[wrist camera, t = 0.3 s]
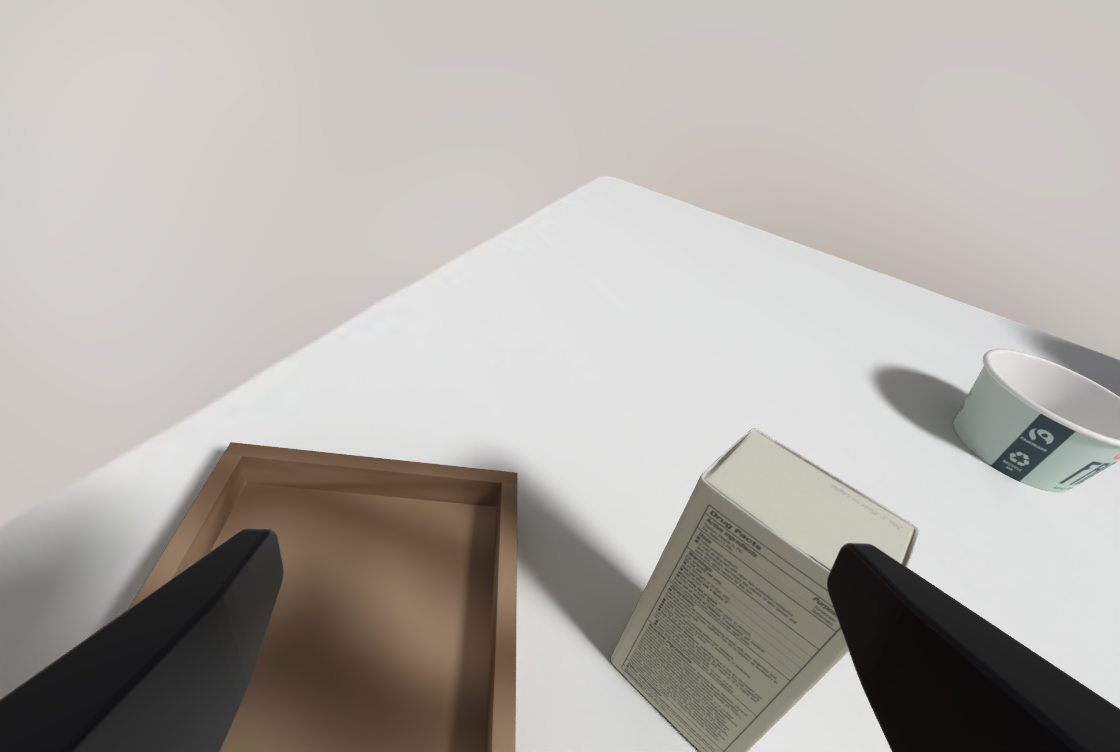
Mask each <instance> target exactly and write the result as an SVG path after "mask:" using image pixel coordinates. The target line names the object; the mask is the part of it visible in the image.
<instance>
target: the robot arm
mask: <svg viewBox="0 0 1120 752" xmlns="http://www.w3.org/2000/svg"><path fill="white" fill-rule="evenodd" d="M283 573H284V569H283V563H282V558H281V553H280V548H279V543H278V538H277V534H276V532H275V531H274V530H273V529H270V528H245V529H243V530H241V531H239V532H238V533H236V534H235V535H233V536H232V537H231V538H229V539H228V540H226V541H225V542H223V543H222V544H221V545H219V546H218V547H216V548H215V549H213V550H212V551H211V552H209V553H208V554H206V555H205V556H204V557H202V558H201V559H199V560H198V561H196V562H195V563H194V564H192V565H191V566H189V567H188V568H187V569H185V570H184V571H182V572H181V573H179V574H178V575H177V576H175V577H174V578H172V579H171V580H169V581H168V582H167V583H165V584H164V585H162V586H161V587H160V588H158V589H157V590H155V591H154V592H152V593H151V594H150V595H148V596H147V597H145V598H144V599H143V600H141V601H140V602H138V603H137V604H135V605H134V606H133V607H131V608H130V609H128V610H127V611H125V612H124V613H123V614H121V615H120V616H118V617H117V618H116V619H114V620H113V621H111V622H110V623H108V624H107V625H106V626H104V627H103V628H101V629H100V630H98V631H97V632H96V633H94V634H93V635H91V636H90V637H89V638H87V639H86V640H84V641H83V642H81V643H80V644H79V645H77V646H76V647H74V648H73V649H72V650H70V651H69V652H67V653H66V654H64V655H63V656H62V657H60V658H59V659H57V660H56V661H54V662H53V663H52V664H50V665H49V666H47V667H46V668H45V669H43V670H42V671H40V672H39V673H37V674H36V675H35V676H33V677H32V678H30V679H29V680H28V681H26V682H25V683H23V684H22V685H20V686H19V687H18V688H16V689H15V690H13V691H12V692H10V693H9V694H8V695H6V696H5V697H3V698H2V699H1V700H0V752H220V749H221V747H222V745H223V743H224V740H225V738H226V736H227V734H228V731H229V729H230V727H231V725H232V722H233V720H234V718H235V716H236V713H237V711H238V709H239V707H240V704H241V702H242V700H243V697H244V695H245V692H246V690H247V688H248V685H249V682H250V679H251V676H252V674H253V671H254V668H255V665H256V662H257V659H258V655H259V652H260V649H261V646H262V643H263V640H264V637H265V634H266V631H267V628H268V625H269V622H270V619H271V615H272V612H273V609H274V606H275V603H276V600H277V597H278V594H279V591H280V588H281V584H282V580H283ZM827 589H828V593H829V596H830V599H831V602H832V605H833V608H834V610H835V613H836V616H837V619H838V622H839V624H840V627H841V630H842V633H843V636H844V638H845V641H846V644H847V647H848V649H849V652H850V655H851V658H852V661H853V663H854V666H855V669H856V672H857V674H858V677H859V679H860V682H861V684H862V687H863V689H864V691H865V694H866V696H867V698H868V701H869V703H870V705H871V707H872V709H873V711H874V714H875V716H876V718H877V720H878V722H879V724H880V726H881V729H882V731H883V733H884V735H885V737H886V739H887V741H888V744H889V746H890V748H891V750H892V752H1120V709H1119V708H1117V707H1116V706H1114V705H1113V704H1111V703H1110V702H1108V701H1107V700H1105V699H1104V698H1102V697H1101V696H1099V695H1098V694H1096V693H1095V692H1093V691H1092V690H1090V689H1089V688H1087V687H1086V686H1084V685H1083V684H1081V683H1080V682H1078V681H1077V680H1075V679H1074V678H1072V677H1071V676H1069V675H1068V674H1066V673H1065V672H1063V671H1062V670H1060V669H1059V668H1057V667H1056V666H1054V665H1053V664H1051V663H1050V662H1048V661H1047V660H1045V659H1044V658H1042V657H1041V656H1039V655H1038V654H1036V653H1035V652H1033V651H1032V650H1030V649H1029V648H1027V647H1026V646H1024V645H1023V644H1021V643H1020V642H1018V641H1017V640H1015V639H1014V638H1012V637H1011V636H1009V635H1007V634H1006V633H1004V632H1003V631H1001V630H1000V629H998V628H997V627H995V626H994V625H992V624H991V623H989V622H988V621H986V620H985V619H983V618H982V617H980V616H979V615H977V614H976V613H974V612H973V611H971V610H970V609H968V608H967V607H965V606H964V605H962V604H961V603H959V602H958V601H956V600H955V599H953V598H952V597H950V596H949V595H947V594H946V593H944V592H943V591H941V590H940V589H938V588H937V587H935V586H934V585H932V584H931V583H929V582H928V581H926V580H925V579H923V578H922V577H920V576H919V575H917V574H916V573H914V572H913V571H911V570H910V569H908V568H907V567H905V566H904V565H902V564H901V563H899V562H898V561H896V560H895V559H893V558H892V557H890V556H889V555H887V554H886V553H884V552H883V551H881V550H880V549H878V548H877V547H875V546H873V545H871V544H867V543H846V544H844V545H843V546H842V547H841V549H840V551H839V553H838V555H837V557H836V560H835V562H834V564H833V566H832V569H831V571H830V573H829V575H828V579H827Z"/></svg>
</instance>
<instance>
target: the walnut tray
mask: <svg viewBox="0 0 1120 752" xmlns="http://www.w3.org/2000/svg"><path fill="white" fill-rule="evenodd" d="M245 528H270V529H273V530H274V531H275V532H276V534H277V538H278V543H279V548H280V553H281V558H282V563H283V569H284V573H283V580H282V584H281V588H280V591H279V594H278V597H277V600H276V603H275V606H274V609H273V612H272V615H271V619H270V622H269V625H268V628H267V631H266V634H265V637H264V640H263V643H262V646H261V649H260V652H259V655H258V659H257V662H256V665H255V668H254V671H253V674H252V676H251V679H250V682H249V685H248V688H247V690H246V692H245V695H244V697H243V700H242V702H241V704H240V707H239V709H238V711H237V713H236V716H235V718H234V720H233V722H232V725H231V727H230V729H229V731H228V734H227V736H226V738H225V740H224V743H223V745H222V747H221V749H220V752H515V716H516V588H517V473H513V472H504V471H495V470H485V469H476V468H467V467H457V466H448V465H438V464H429V463H420V462H410V461H401V460H391V459H382V458H373V457H363V456H354V455H344V454H335V453H326V452H316V451H307V450H298V449H288V448H279V447H269V446H260V445H251V444H241V443H232V442H231V443H230V444H229V446H228V448H227V449H226V451H225V453H224V454H223V456H222V458H221V459H220V461H219V462H218V464H217V466H216V467H215V469H214V471H213V472H212V474H211V475H210V477H209V479H208V480H207V482H206V484H205V485H204V487H203V488H202V490H201V492H200V493H199V495H198V497H197V498H196V500H195V502H194V503H193V505H192V506H191V508H190V510H189V511H188V513H187V515H186V516H185V518H184V519H183V521H182V523H181V524H180V526H179V528H178V529H177V531H176V532H175V534H174V536H173V537H172V539H171V541H170V542H169V544H168V546H167V547H166V549H165V550H164V552H163V554H162V555H161V557H160V559H159V560H158V562H157V563H156V565H155V567H154V568H153V570H152V572H151V573H150V575H149V576H148V578H147V580H146V581H145V583H144V585H143V586H142V588H141V590H140V591H139V593H138V594H137V596H136V598H135V599H134V601H133V603H132V604H131V606H130V607H129V609H130V608H131V607H133V606H134V605H135V604H137V603H138V602H140V601H141V600H143V599H144V598H145V597H147V596H148V595H150V594H151V593H152V592H154V591H155V590H157V589H158V588H160V587H161V586H162V585H164V584H165V583H167V582H168V581H169V580H171V579H172V578H174V577H175V576H177V575H178V574H179V573H181V572H182V571H184V570H185V569H187V568H188V567H189V566H191V565H192V564H194V563H195V562H196V561H198V560H199V559H201V558H202V557H204V556H205V555H206V554H208V553H209V552H211V551H212V550H213V549H215V548H216V547H218V546H219V545H221V544H222V543H223V542H225V541H226V540H228V539H229V538H231V537H232V536H233V535H235V534H236V533H238V532H239V531H241V530H243V529H245Z"/></svg>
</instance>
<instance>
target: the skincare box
mask: <svg viewBox="0 0 1120 752" xmlns="http://www.w3.org/2000/svg"><path fill="white" fill-rule="evenodd" d="M917 536H918V528H917V527H916V526H914V525H913V524H911V523H910V522H908V521H906V520H904V519H903V518H901V517H900V516H898V515H897V514H895V513H894V512H892V511H890V510H889V509H887V508H886V507H884V506H883V505H881V504H879V503H878V502H876V501H874V500H873V499H871V498H870V497H868V496H866V495H865V494H863V493H862V492H860V491H858V490H857V489H855V488H853V487H852V486H850V485H849V484H847V483H845V482H844V481H842V480H840V479H839V478H837V477H836V476H834V475H832V474H830V473H829V472H827V471H825V470H824V469H823V468H821V467H820V466H818V465H815V464H814V463H812V462H811V461H809V460H808V459H806V458H804V457H803V456H801V455H800V454H798V453H796V452H795V451H793V450H791V449H789V448H788V447H786V446H784V445H783V444H781V443H780V442H778V441H776V440H775V439H773V438H772V437H770V436H768V435H766V434H765V433H763V432H762V431H760V430H758V429H756V428H753V429H751V430H750V431H749V432H748V433H747V434H745V435H744V436H743V437H742V438H741V439H740V440H738V441H737V442H736V443H735V444H734V445H733V446H732V447H731V448H729V449H728V450H727V451H726V452H725V453H724V454H723V455H722V456H720V457H719V458H718V459H717V460H716V461H715V462H714V463H713V464H712V465H711V466H710V467H709V468H708V469H707V470H706V471H705V472H704V473H703V474H702V475H701V476H700V478H699V480H698V482H697V484H696V487H695V489H694V491H693V493H692V495H691V497H690V499H689V501H688V503H687V505H686V507H685V509H684V511H683V513H682V515H681V517H680V519H679V521H678V523H677V525H676V527H675V529H674V531H673V533H672V535H671V537H670V539H669V541H668V543H667V545H666V547H665V549H664V551H663V553H662V555H661V557H660V559H659V561H658V564H657V566H656V568H655V570H654V572H653V574H652V576H651V577H650V579H649V581H648V583H647V585H646V588H645V590H644V592H643V594H642V596H641V598H640V600H639V602H638V604H637V606H636V608H635V610H634V612H633V614H632V616H631V618H630V620H629V622H628V624H627V626H626V628H625V630H624V632H623V634H622V636H621V638H620V640H619V642H618V644H617V646H616V648H615V650H614V652H613V654H612V656H611V662H612V664H613V665H614V666H615V667H616V668H617V669H618V670H619V671H620V672H621V673H622V674H623V675H624V676H625V677H626V678H627V679H628V681H630V682H631V684H632V685H633V686H634V687H635V688H636V689H637V690H638V691H639V692H640V693H641V694H642V695H643V696H644V697H645V698H646V699H647V700H648V701H649V702H650V703H651V704H652V705H654V706H655V707H656V708H657V709H658V710H659V711H660V712H661V713H662V714H663V715H664V716H665V717H666V718H667V719H668V720H669V721H670V722H671V723H672V724H673V725H674V726H675V727H676V728H677V729H678V730H679V731H680V732H681V733H682V734H683V735H684V736H685V737H686V738H687V739H688V740H689V741H690V742H691V743H692V744H693V745H694V746H695V747H696V748H697V749H698V750H699V751H701V752H748V751H749V750H750V748H751V747H752V746H753V745H754V744H755V743H756V742H757V741H759V740H760V739H761V738H762V737H763V735H764V734H765V733H766V732H768V731H769V730H770V729H771V728H772V727H773V726H774V725H775V724H776V723H777V722H778V721H779V720H780V719H781V718H782V717H783V716H784V715H785V714H786V713H787V712H788V711H789V710H790V709H791V708H792V707H793V706H794V705H795V704H796V703H797V702H798V701H799V700H800V699H801V698H802V697H803V696H804V695H805V694H806V693H807V692H808V691H809V690H810V689H811V688H812V687H813V686H814V685H815V684H816V683H817V682H818V681H819V680H820V679H821V678H822V677H823V676H824V675H825V674H826V673H827V672H828V671H829V670H830V669H831V668H832V667H833V666H834V665H835V664H836V663H838V662H839V661H840V660H841V659H842V658H843V657H844V656H845V655H846V654H847V653H848V652H849V649H848V647H847V644H846V641H845V638H844V636H843V633H842V630H841V627H840V624H839V622H838V619H837V616H836V613H835V610H834V608H833V605H832V602H831V599H830V596H829V593H828V589H827V579H828V575H829V573H830V571H831V569H832V566H833V564H834V562H835V560H836V557H837V555H838V553H839V551H840V549H841V547H842V546H843V545H844V544H846V543H867V544H871V545H873V546H875V547H877V548H878V549H880V550H881V551H883V552H884V553H886V554H887V555H889V556H890V557H892V558H893V559H895V560H896V561H898V562H899V563H901V564H902V565H904V566H905V567H908V564H909V561H910V559H911V556H912V553H913V550H914V546H915V543H916V539H917Z"/></svg>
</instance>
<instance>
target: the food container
mask: <svg viewBox="0 0 1120 752" xmlns="http://www.w3.org/2000/svg"><path fill="white" fill-rule="evenodd" d="M983 363H984V367H983V369H982V370H981V372H980V374H979V376H978V378H977V379H976V381H975V383H974V385H973V387H972V389H971V390H970V392H969V394H968V396H967V398H966V399H965V401H964V403H963V405H962V407H961V409H960V410H959V412H958V414H957V416H956V418H955V420H954V423H953V425H954V429H955V431H956V433H957V435H958V436H959V438H960V439H961V440H962V442H963V443H964V444H965V445H966V446H967V447H968V448H969V449H970V450H971V451H972V452H974V453H975V454H976V455H977V456H978V457H980V458H981V459H982V460H983V461H985V462H986V463H988V464H989V465H991V466H992V467H994V468H995V469H997V470H998V471H1000V472H1002V473H1003V474H1005V475H1007V476H1009V477H1011V478H1013V479H1015V480H1017V481H1019V482H1021V483H1024V484H1026V485H1029V486H1031V487H1034V488H1037V489H1041V490H1044V491H1049V492H1065V491H1068V490H1069V489H1071V488H1073V487H1075V486H1076V485H1078V484H1080V483H1082V482H1083V481H1085V480H1087V479H1088V478H1090V477H1092V476H1094V475H1095V474H1097V473H1099V472H1101V471H1102V470H1104V469H1106V468H1107V467H1109V466H1111V465H1113V464H1114V463H1116V462H1118V461H1120V397H1119V396H1117V395H1116V394H1114V393H1113V392H1111V391H1109V390H1108V389H1106V388H1104V387H1103V386H1101V385H1099V384H1098V383H1096V382H1094V381H1092V380H1090V379H1088V378H1086V377H1084V376H1082V375H1080V374H1078V373H1076V372H1074V371H1072V370H1070V369H1068V368H1065V367H1063V366H1061V365H1058V364H1056V363H1053V362H1051V361H1048V360H1046V359H1043V358H1040V357H1037V356H1034V355H1030V354H1027V353H1023V352H1019V351H1014V350H1007V349H995V350H990V351H988V352H986V353H985V354H984V356H983Z"/></svg>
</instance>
